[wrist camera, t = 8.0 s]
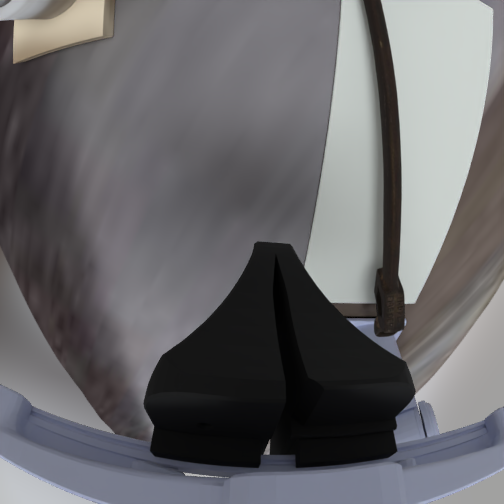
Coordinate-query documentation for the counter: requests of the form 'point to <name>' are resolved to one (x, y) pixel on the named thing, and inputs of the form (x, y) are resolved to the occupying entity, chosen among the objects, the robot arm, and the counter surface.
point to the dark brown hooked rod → (388, 180)
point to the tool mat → (412, 141)
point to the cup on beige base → (56, 24)
